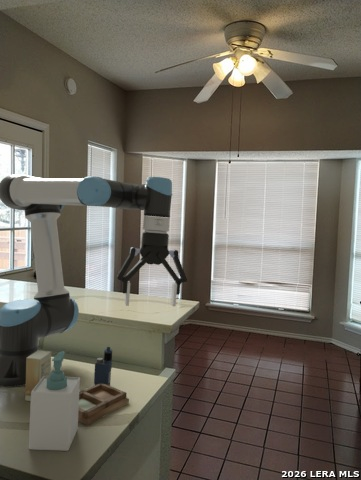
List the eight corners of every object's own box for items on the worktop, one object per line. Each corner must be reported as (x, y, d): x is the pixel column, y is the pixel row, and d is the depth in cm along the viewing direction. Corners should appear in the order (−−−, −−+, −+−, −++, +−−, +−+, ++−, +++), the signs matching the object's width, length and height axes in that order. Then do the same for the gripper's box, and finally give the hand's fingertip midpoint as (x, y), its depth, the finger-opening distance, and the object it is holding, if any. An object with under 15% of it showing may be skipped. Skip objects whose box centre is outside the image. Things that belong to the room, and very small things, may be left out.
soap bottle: (78, 429, 90) (81, 351, 89) (68, 451, 82) (72, 365, 81) (41, 427, 90) (45, 349, 89) (28, 449, 81) (31, 363, 80)
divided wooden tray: (56, 409, 99) (56, 399, 99) (98, 390, 111) (98, 381, 111) (87, 425, 92) (87, 414, 92) (128, 402, 105) (129, 393, 105)
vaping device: (108, 388, 113) (110, 349, 112) (92, 386, 114) (94, 347, 113) (112, 385, 115) (114, 346, 115) (96, 382, 116) (97, 344, 116)
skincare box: (36, 391, 109) (38, 349, 108) (50, 392, 108) (52, 351, 107) (23, 401, 102) (25, 357, 102) (38, 403, 102) (40, 358, 101)
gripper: (112, 229, 101) (107, 307, 102) (201, 235, 107) (195, 308, 108) (110, 228, 108) (105, 301, 109) (193, 233, 114) (187, 302, 116)
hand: (150, 305), depth 109 cm, fingers open, 13 cm apart
